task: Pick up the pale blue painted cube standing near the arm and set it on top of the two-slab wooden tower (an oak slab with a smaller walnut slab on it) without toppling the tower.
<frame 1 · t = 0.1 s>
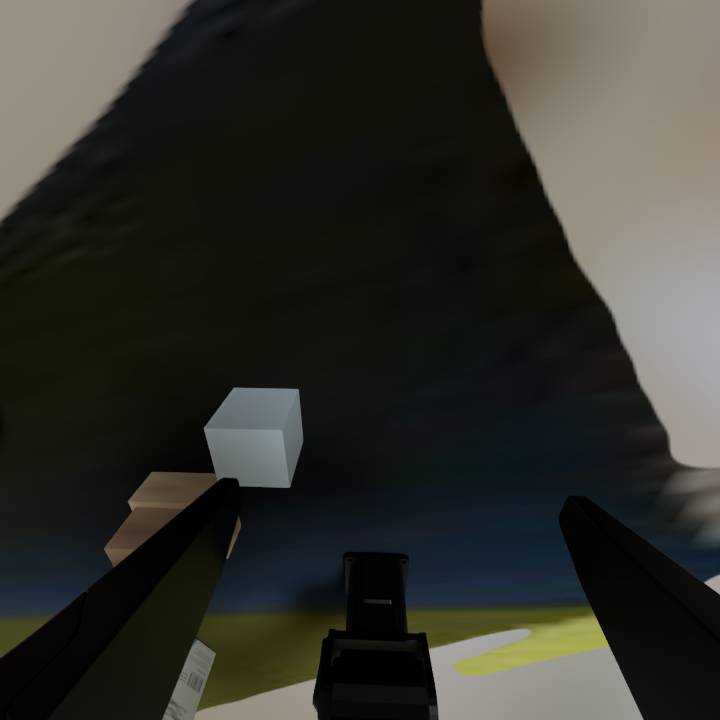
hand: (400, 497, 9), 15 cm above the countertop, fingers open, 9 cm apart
walnut mid slab: (180, 532, 28), point 3 cm above the countertop, touching oak base slab
oak base slab: (200, 497, 31), on the countertop, touching walnut mid slab
pale blue cube: (270, 414, 26), on the countertop
ink box: (184, 639, 43), on the countertop
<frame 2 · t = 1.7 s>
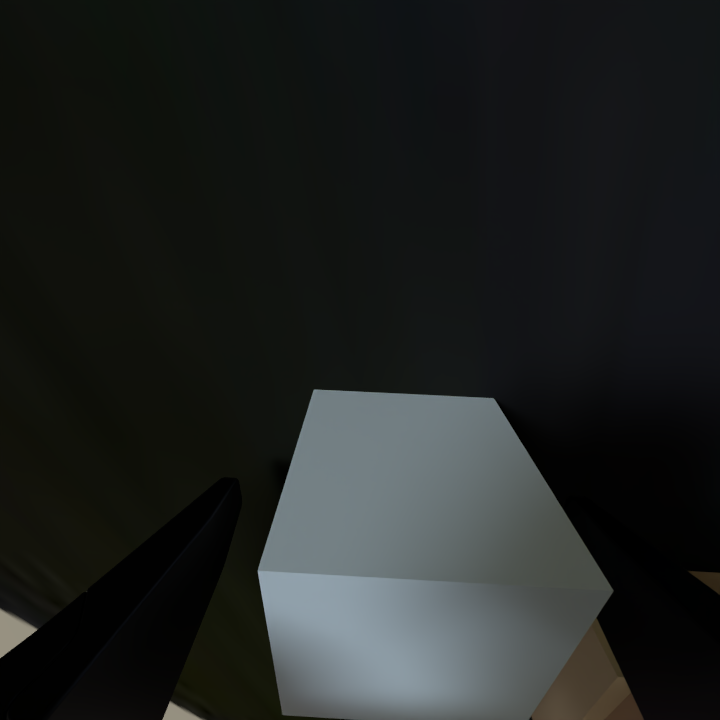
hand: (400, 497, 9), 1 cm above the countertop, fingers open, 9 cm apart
oak base slab: (612, 611, 14), on the countertop, touching walnut mid slab
pale blue cube: (395, 460, 10), on the countertop
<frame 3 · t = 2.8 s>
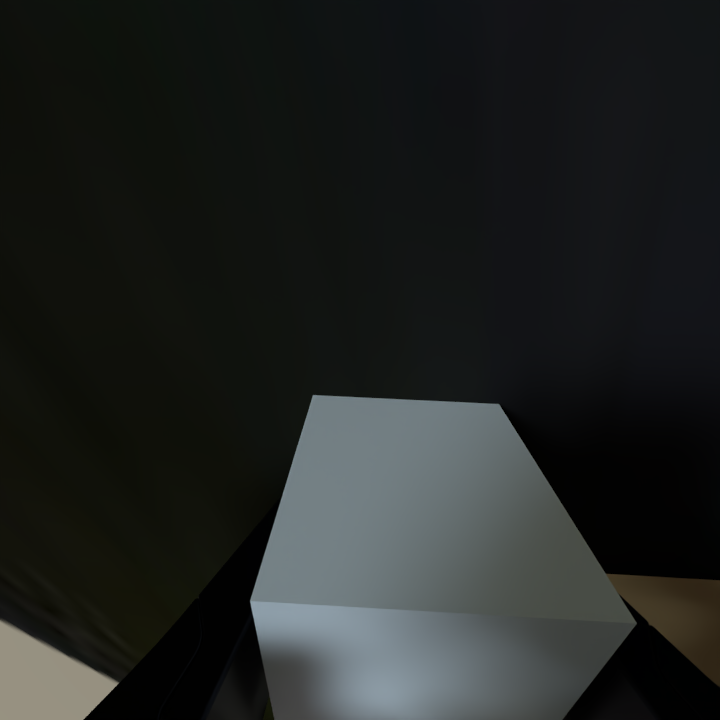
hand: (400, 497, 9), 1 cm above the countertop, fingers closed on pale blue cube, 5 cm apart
oak base slab: (616, 619, 13), on the countertop, touching walnut mid slab
pale blue cube: (397, 469, 10), on the countertop, touching gripper
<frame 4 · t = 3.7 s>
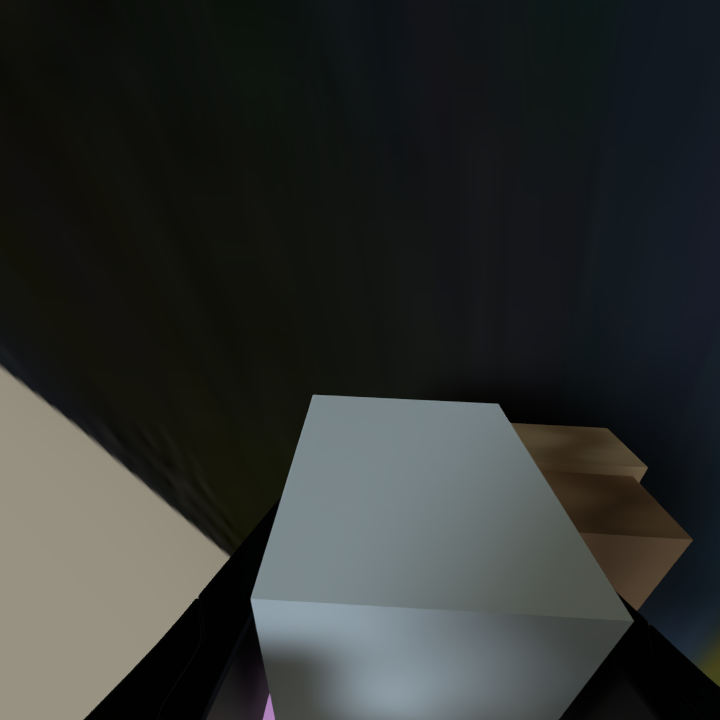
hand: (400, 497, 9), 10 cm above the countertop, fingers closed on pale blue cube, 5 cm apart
walnut mid slab: (556, 512, 18), point 3 cm above the countertop, touching oak base slab
oak base slab: (530, 465, 21), on the countertop, touching walnut mid slab
pale blue cube: (397, 468, 10), point 9 cm above the countertop, touching gripper
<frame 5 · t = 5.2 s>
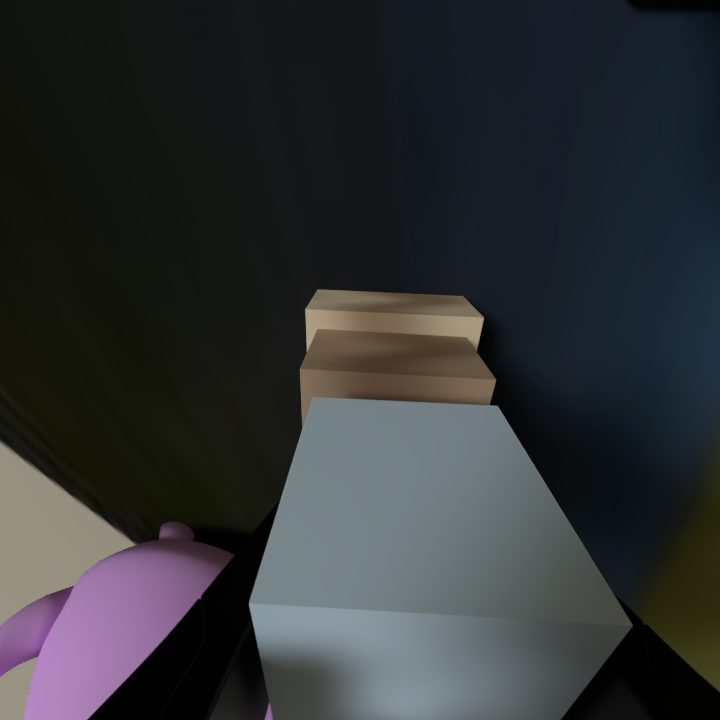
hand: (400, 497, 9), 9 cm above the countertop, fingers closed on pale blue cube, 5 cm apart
walnut mid slab: (385, 395, 14), point 3 cm above the countertop, touching oak base slab
teapot: (194, 561, 26), on the countertop
oak base slab: (384, 355, 17), on the countertop, touching walnut mid slab
pale blue cube: (396, 470, 10), point 8 cm above the countertop, touching gripper
when the fingers open (9 cm above the countertop, at t = 5.5 s): pale blue cube drops 1 cm, resting on walnut mid slab.
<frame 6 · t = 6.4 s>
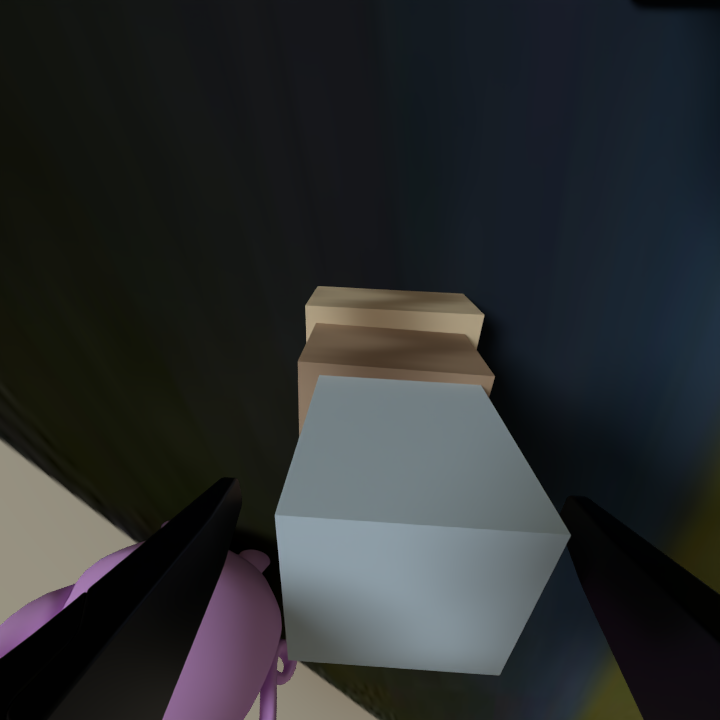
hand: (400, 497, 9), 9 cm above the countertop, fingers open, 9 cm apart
walnut mid slab: (383, 392, 14), point 3 cm above the countertop, touching oak base slab, pale blue cube
teapot: (195, 560, 26), on the countertop
oak base slab: (384, 353, 17), on the countertop, touching walnut mid slab
pale blue cube: (392, 443, 11), point 7 cm above the countertop, touching walnut mid slab
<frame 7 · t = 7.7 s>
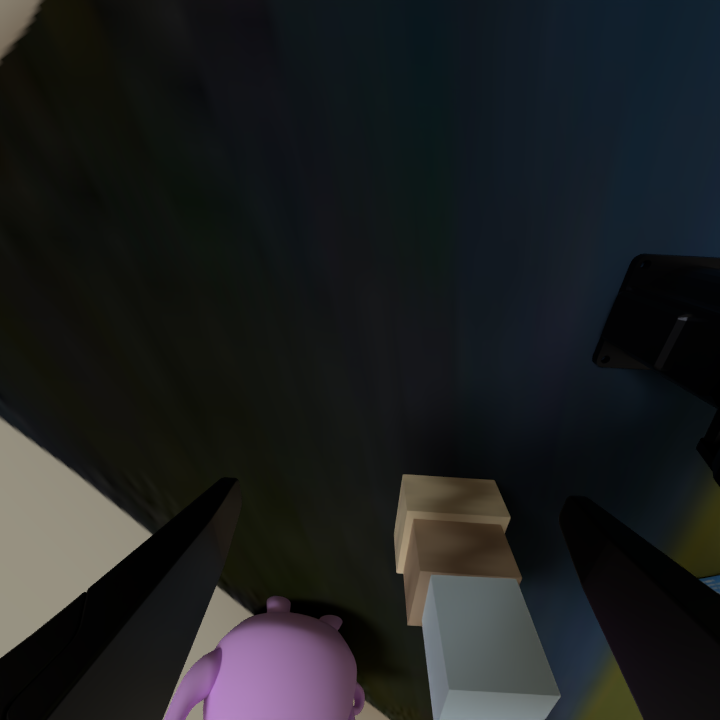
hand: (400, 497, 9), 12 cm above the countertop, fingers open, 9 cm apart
walnut mid slab: (449, 549, 23), point 3 cm above the countertop, touching oak base slab, pale blue cube
teapot: (285, 620, 35), on the countertop
oak base slab: (440, 506, 26), on the countertop, touching walnut mid slab
pale blue cube: (466, 600, 20), point 7 cm above the countertop, touching walnut mid slab
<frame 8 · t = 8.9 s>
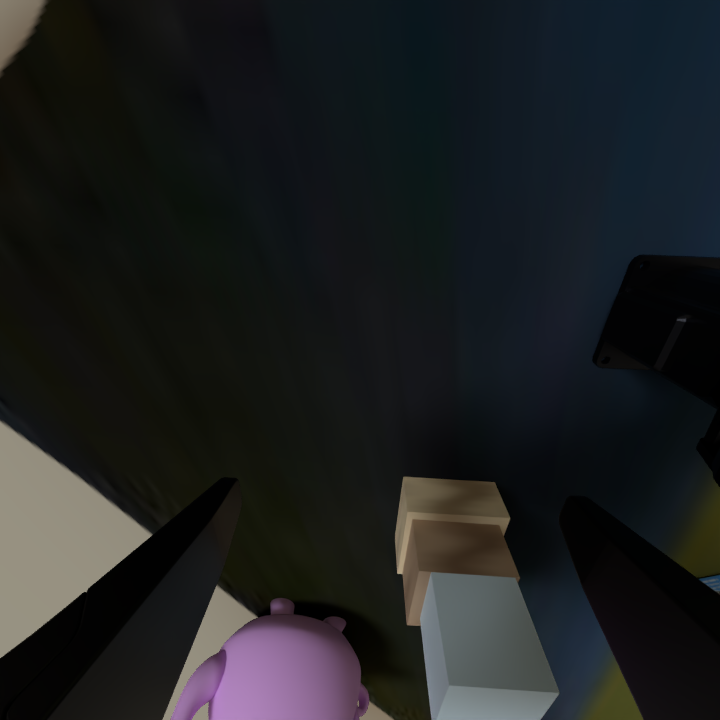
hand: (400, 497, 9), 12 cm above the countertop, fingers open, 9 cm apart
walnut mid slab: (448, 549, 24), point 3 cm above the countertop, touching oak base slab, pale blue cube
teapot: (289, 622, 35), on the countertop
oak base slab: (440, 506, 27), on the countertop, touching walnut mid slab
pale blue cube: (465, 599, 20), point 7 cm above the countertop, touching walnut mid slab
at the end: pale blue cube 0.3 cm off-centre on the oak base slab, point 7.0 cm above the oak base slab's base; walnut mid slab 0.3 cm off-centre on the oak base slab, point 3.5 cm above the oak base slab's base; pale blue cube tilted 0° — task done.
